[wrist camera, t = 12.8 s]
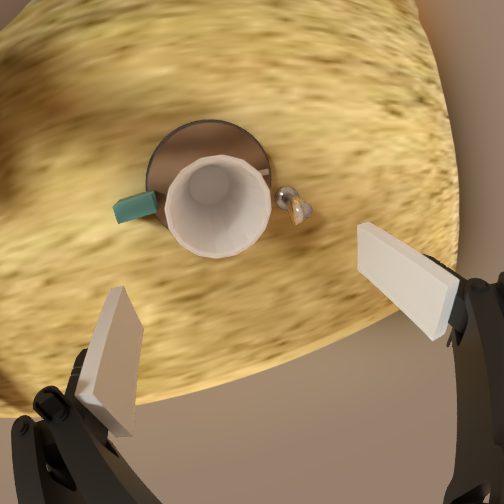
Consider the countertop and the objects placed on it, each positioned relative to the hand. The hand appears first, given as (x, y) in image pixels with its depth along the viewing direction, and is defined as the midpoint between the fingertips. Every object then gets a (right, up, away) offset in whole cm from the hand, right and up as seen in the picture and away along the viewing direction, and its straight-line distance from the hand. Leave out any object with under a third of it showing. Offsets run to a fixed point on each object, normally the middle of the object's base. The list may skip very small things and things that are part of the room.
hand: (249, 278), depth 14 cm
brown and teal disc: (-8, +10, +24) cm, 28 cm away
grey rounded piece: (+5, +10, +29) cm, 31 cm away
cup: (-6, +10, +23) cm, 26 cm away
